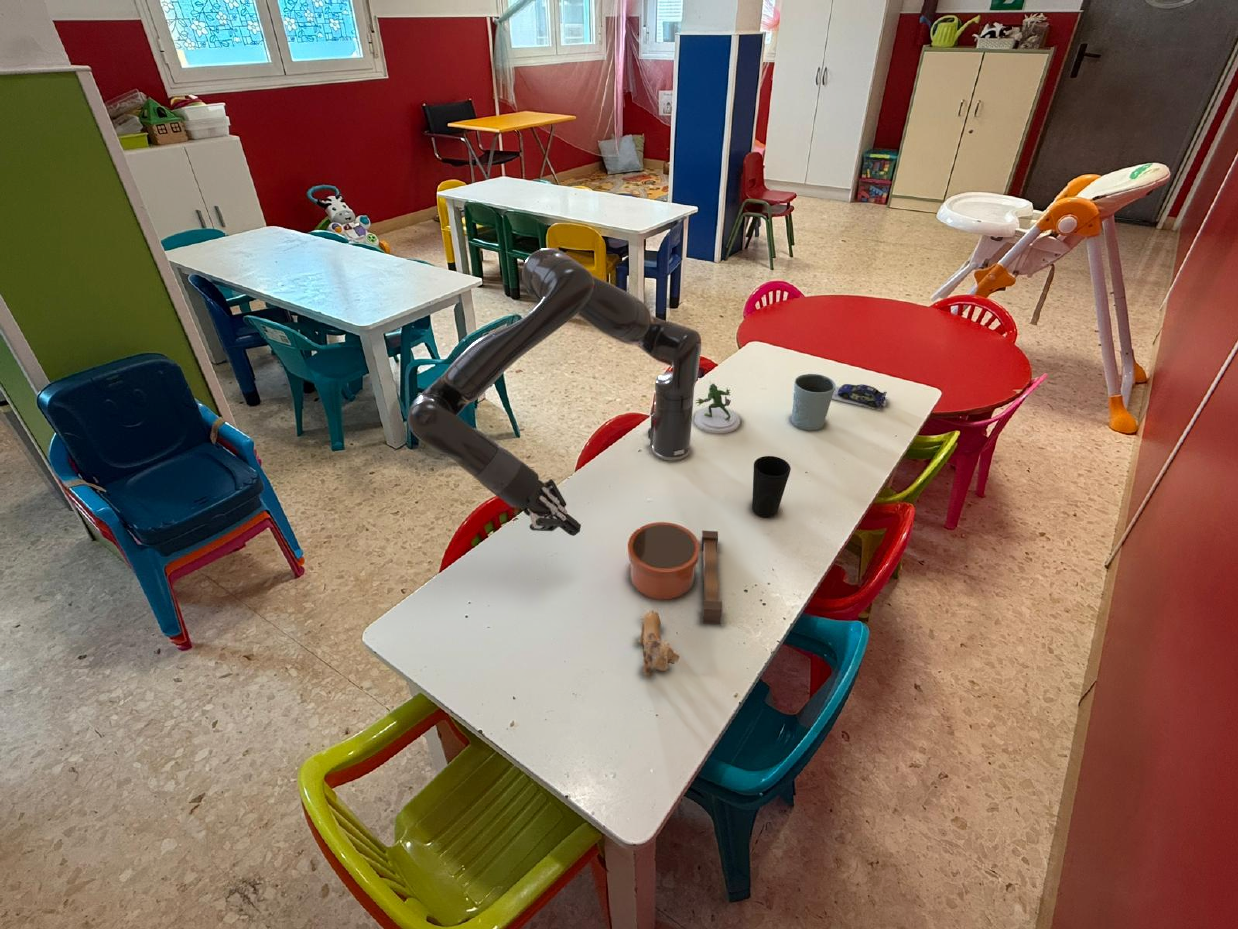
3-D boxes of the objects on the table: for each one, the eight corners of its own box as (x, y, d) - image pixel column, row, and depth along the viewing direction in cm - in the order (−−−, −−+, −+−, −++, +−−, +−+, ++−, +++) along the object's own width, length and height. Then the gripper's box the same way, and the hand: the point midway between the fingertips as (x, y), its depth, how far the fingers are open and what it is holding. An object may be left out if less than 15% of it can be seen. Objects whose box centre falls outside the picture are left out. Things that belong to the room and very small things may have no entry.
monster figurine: (720, 405, 177) (724, 372, 170) (748, 425, 168) (753, 391, 162) (685, 417, 172) (687, 384, 166) (713, 438, 163) (716, 404, 157)
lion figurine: (679, 687, 104) (682, 652, 99) (648, 693, 103) (650, 659, 98) (655, 618, 116) (657, 584, 110) (627, 624, 115) (627, 590, 109)
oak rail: (720, 624, 115) (722, 610, 112) (702, 622, 115) (704, 608, 113) (716, 544, 131) (717, 531, 129) (700, 543, 131) (702, 530, 129)
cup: (782, 523, 137) (791, 479, 129) (746, 518, 138) (753, 474, 131) (782, 501, 143) (790, 457, 136) (747, 496, 144) (754, 453, 137)
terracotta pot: (630, 604, 118) (631, 573, 114) (624, 553, 129) (624, 523, 125) (702, 599, 119) (705, 569, 114) (690, 549, 130) (693, 519, 125)
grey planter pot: (831, 419, 170) (840, 379, 163) (819, 436, 164) (828, 396, 157) (795, 408, 175) (802, 370, 168) (782, 425, 168) (789, 385, 161)
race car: (828, 398, 179) (831, 384, 177) (833, 388, 184) (836, 374, 181) (883, 411, 174) (887, 397, 171) (887, 400, 178) (891, 386, 176)
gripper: (510, 488, 105) (586, 546, 111) (526, 443, 115) (595, 498, 122) (483, 510, 108) (558, 565, 115) (501, 465, 119) (569, 517, 125)
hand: (577, 530), depth 118 cm, fingers closed
